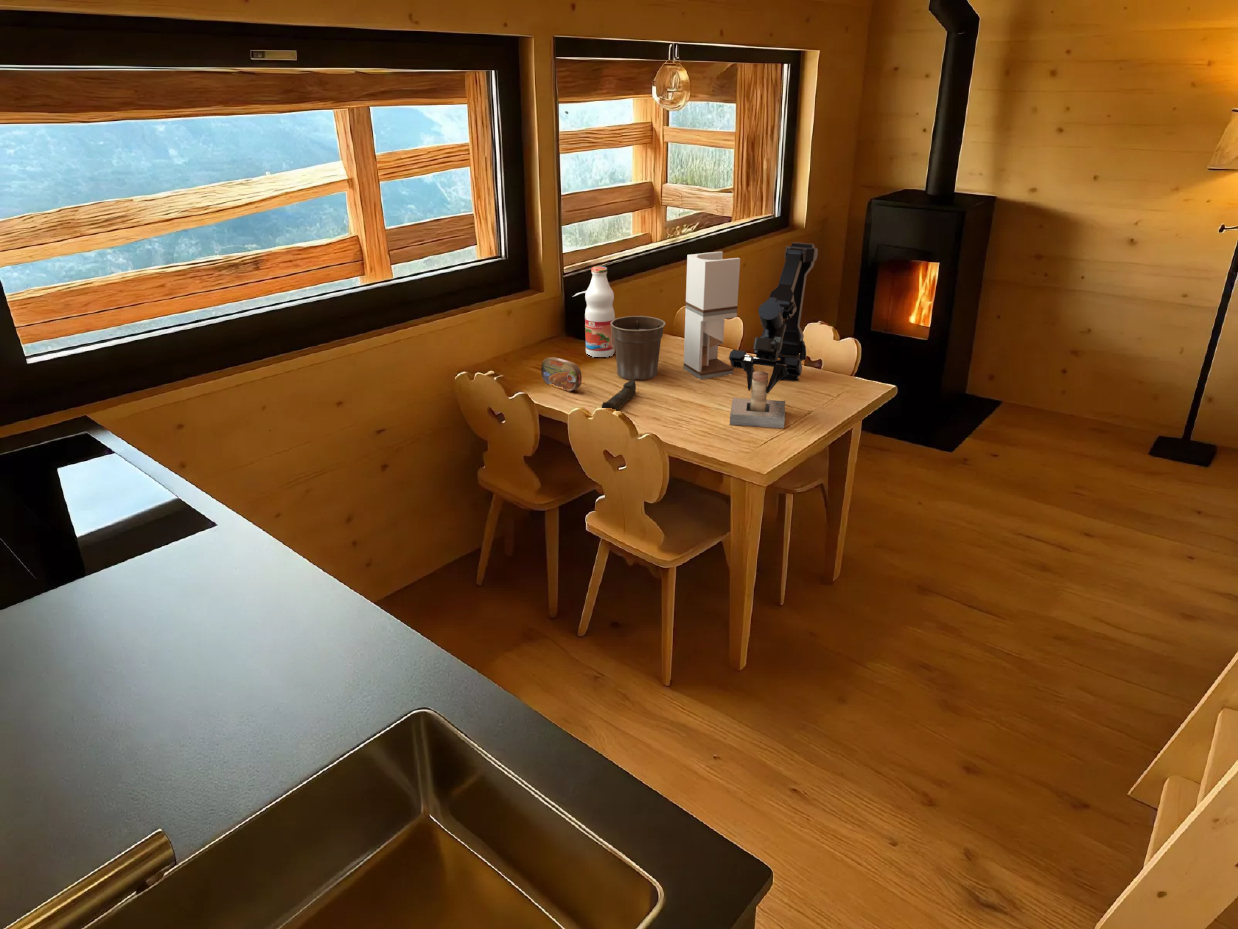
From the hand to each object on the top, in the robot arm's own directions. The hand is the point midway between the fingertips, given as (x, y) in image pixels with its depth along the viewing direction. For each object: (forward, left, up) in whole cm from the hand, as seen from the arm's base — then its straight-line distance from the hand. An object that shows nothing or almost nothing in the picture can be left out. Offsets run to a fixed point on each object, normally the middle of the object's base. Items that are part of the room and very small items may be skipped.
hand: (757, 391), depth 221 cm
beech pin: (-1, 0, -8) cm, 8 cm away
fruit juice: (-47, -52, -8) cm, 71 cm away
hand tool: (-5, -38, -8) cm, 39 cm away
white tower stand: (-36, -16, -8) cm, 40 cm away
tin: (-15, -57, -8) cm, 59 cm away
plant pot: (-30, -37, -8) cm, 48 cm away
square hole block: (-1, 0, -8) cm, 8 cm away
